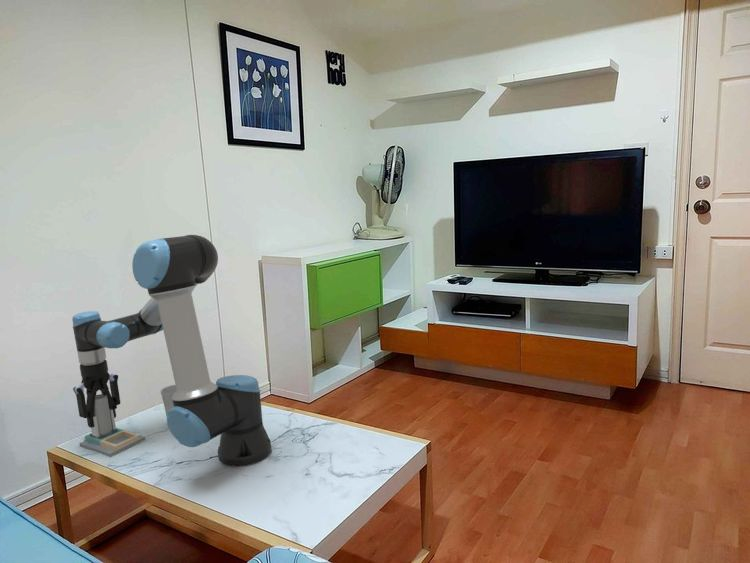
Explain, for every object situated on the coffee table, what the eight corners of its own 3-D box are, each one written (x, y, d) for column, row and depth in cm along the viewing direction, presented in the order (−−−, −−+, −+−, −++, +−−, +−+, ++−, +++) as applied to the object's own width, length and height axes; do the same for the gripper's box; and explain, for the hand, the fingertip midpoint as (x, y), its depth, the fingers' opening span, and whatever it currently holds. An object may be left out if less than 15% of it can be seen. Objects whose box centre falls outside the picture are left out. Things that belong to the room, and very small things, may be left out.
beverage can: (105, 436, 167) (99, 400, 165) (92, 435, 168) (86, 399, 166) (115, 429, 172) (110, 394, 170) (102, 429, 173) (97, 393, 171)
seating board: (146, 439, 169) (144, 432, 169) (110, 457, 159) (109, 449, 159) (115, 430, 178) (114, 423, 177) (79, 446, 168) (78, 438, 167)
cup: (166, 420, 183) (161, 386, 181) (190, 415, 186) (186, 382, 183) (164, 429, 176) (159, 395, 174) (190, 425, 178) (185, 390, 176)
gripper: (112, 351, 175) (122, 418, 179) (57, 369, 160) (69, 441, 164) (126, 354, 171) (136, 422, 175) (71, 372, 156) (83, 446, 161)
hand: (104, 431), depth 170 cm, fingers closed on beverage can, 5 cm apart
